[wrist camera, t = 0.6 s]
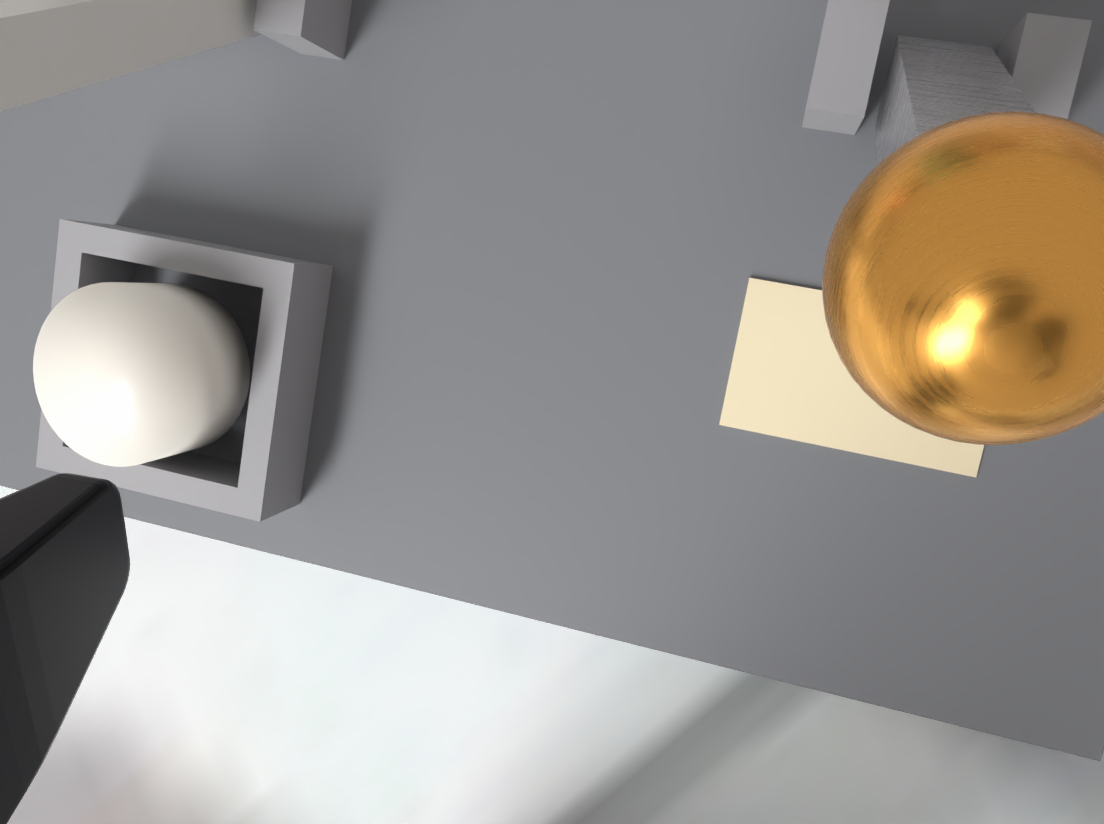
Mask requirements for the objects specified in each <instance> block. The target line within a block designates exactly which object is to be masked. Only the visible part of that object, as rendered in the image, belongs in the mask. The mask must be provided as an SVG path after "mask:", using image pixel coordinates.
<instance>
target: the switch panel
mask: <svg viewBox="0 0 1104 824" xmlns="http://www.w3.org/2000/svg"><path fill="white" fill-rule="evenodd" d="M253 30H255V31H257V32H259V33H261V34H260V35H257V36H253V37H250V38H247V39H243V40H240V41H237V42H233V43H230V44H226V45H223V46H220V47H216V48H213V49H210V50H206V51H203V52H199V53H196V54H193V55H189V56H186V57H183V58H179V59H176V60H173V61H169V62H166V63H162V64H159V65H156V66H152V67H149V68H146V69H142V70H139V71H135V72H132V73H129V74H125V75H122V76H119V77H115V78H112V79H109V80H105V81H102V82H98V83H95V84H92V85H88V86H85V87H82V88H78V89H75V90H72V91H68V92H65V93H61V94H58V95H55V96H51V97H48V98H45V99H41V100H38V101H34V102H31V103H28V104H24V105H21V106H18V107H14V108H11V109H8V110H4V111H1V112H0V485H1V486H5V487H8V488H12V489H16V490H21V489H23V488H26V487H28V486H30V485H32V484H35V483H37V482H39V481H42V480H44V479H46V478H48V477H51V476H54V475H56V474H60V473H72V474H78V475H84V476H90V477H96V478H101V479H106V480H109V481H111V482H112V483H114V484H115V485H116V487H117V488H118V490H119V492H120V496H121V501H122V508H123V515H124V517H128V518H132V519H136V520H140V521H144V522H148V523H152V524H156V525H160V526H164V527H168V528H172V529H176V530H180V531H184V532H188V533H192V534H196V535H200V536H204V537H208V538H212V539H216V540H220V541H224V542H228V543H232V544H236V545H240V546H244V547H248V548H252V549H256V550H260V551H264V552H268V553H272V554H276V555H280V556H284V557H288V558H292V559H296V560H300V561H304V562H308V563H312V564H316V565H320V566H324V567H328V568H332V569H336V570H340V571H344V572H348V573H352V574H356V575H360V576H364V577H368V578H372V579H376V580H380V581H384V582H388V583H392V584H396V585H400V586H404V587H408V588H412V589H416V590H419V591H423V592H427V593H431V594H435V595H439V596H443V597H447V598H451V599H455V600H459V601H463V602H467V603H471V604H475V605H479V606H483V607H487V608H491V609H495V610H499V611H503V612H507V613H511V614H515V615H519V616H523V617H527V618H531V619H535V620H539V621H543V622H547V623H551V624H555V625H559V626H563V627H567V628H571V629H575V630H579V631H583V632H587V633H591V634H595V635H599V636H603V637H607V638H611V639H615V640H619V641H623V642H627V643H631V644H635V645H639V646H643V647H647V648H651V649H655V650H659V651H663V652H667V653H671V654H675V655H679V656H683V657H687V658H691V659H695V660H699V661H703V662H707V663H711V664H715V665H719V666H723V667H727V668H731V669H735V670H739V671H743V672H747V673H751V674H755V675H759V676H763V677H767V678H771V679H775V680H779V681H783V682H787V683H791V684H795V685H799V686H803V687H807V688H811V689H815V690H819V691H823V692H827V693H831V694H834V695H838V696H842V697H846V698H850V699H854V700H858V701H862V702H866V703H870V704H874V705H878V706H882V707H886V708H890V709H894V710H898V711H902V712H906V713H910V714H914V715H918V716H922V717H926V718H930V719H934V720H938V721H942V722H946V723H950V724H954V725H958V726H962V727H966V728H970V729H974V730H978V731H982V732H986V733H990V734H994V735H998V736H1002V737H1006V738H1010V739H1014V740H1018V741H1022V742H1026V743H1030V744H1034V745H1038V746H1042V747H1046V748H1050V749H1054V750H1058V751H1062V752H1066V753H1070V754H1074V755H1078V756H1082V757H1086V758H1090V759H1094V760H1098V761H1100V760H1101V757H1102V753H1103V750H1104V412H1103V413H1101V414H1100V415H1098V416H1097V417H1095V418H1093V419H1091V420H1090V421H1088V422H1086V423H1084V424H1082V425H1080V426H1078V427H1076V428H1073V429H1071V430H1068V431H1066V432H1063V433H1061V434H1058V435H1055V436H1051V437H1048V438H1044V439H1041V440H1037V441H1031V442H1025V443H1019V444H1008V445H976V444H969V443H962V442H956V441H952V440H948V439H944V438H941V437H937V436H934V435H932V434H929V433H926V432H924V431H921V430H918V429H916V428H914V427H912V426H910V425H908V424H906V423H904V422H902V421H900V420H898V419H897V418H895V417H894V416H893V415H891V414H890V413H888V412H887V411H885V410H884V409H882V408H881V407H880V406H879V405H878V404H877V403H876V402H875V401H874V400H872V399H871V398H870V397H869V396H868V395H867V394H866V393H865V392H864V391H863V390H862V389H861V388H860V387H859V385H858V384H857V383H856V382H855V381H854V379H853V378H852V377H851V376H850V374H849V372H848V371H847V369H846V368H845V366H844V364H843V363H842V361H841V359H840V357H839V355H838V353H837V351H836V349H835V346H834V344H833V342H832V340H831V337H830V334H829V330H828V327H827V323H826V320H825V313H824V305H823V296H822V275H823V267H824V261H825V255H826V251H827V248H828V245H829V241H830V238H831V235H832V232H833V228H834V226H835V224H836V222H837V220H838V218H839V215H840V213H841V211H842V209H843V208H844V206H845V204H846V203H847V201H848V200H849V198H850V197H851V195H852V193H853V192H854V191H855V189H856V188H857V187H858V186H859V185H860V183H861V182H862V181H863V180H864V179H865V177H866V176H867V175H868V174H869V173H870V172H871V171H872V170H873V169H874V168H875V167H876V166H877V155H876V137H875V123H876V119H877V115H878V111H879V106H880V102H881V98H882V94H883V90H884V86H885V82H886V78H887V74H888V70H889V66H890V62H891V58H892V54H893V49H894V45H895V41H896V37H897V35H901V36H908V37H916V38H924V39H932V40H940V41H948V42H956V43H964V44H971V45H979V46H987V47H991V48H992V49H993V51H994V52H995V54H996V55H997V56H998V58H999V59H1000V61H1001V62H1002V64H1003V65H1004V67H1005V68H1006V70H1007V71H1008V72H1009V74H1010V75H1011V77H1012V78H1013V80H1014V81H1015V83H1016V84H1017V86H1018V87H1019V88H1020V90H1021V91H1022V93H1023V94H1024V96H1025V97H1026V99H1027V100H1028V101H1029V103H1030V104H1031V106H1032V107H1033V109H1034V110H1035V112H1036V113H1041V114H1046V115H1051V116H1056V117H1061V118H1065V119H1068V120H1071V121H1074V122H1077V123H1080V124H1083V125H1085V126H1088V127H1090V128H1092V129H1094V130H1096V131H1098V132H1099V133H1101V134H1103V135H1104V0H257V4H256V12H255V20H254V29H253ZM102 282H127V283H175V284H183V285H187V286H190V287H194V288H196V289H198V290H201V291H203V292H204V293H206V294H208V295H209V296H211V297H213V298H214V299H215V300H216V301H218V302H219V303H220V304H221V305H222V306H223V307H224V308H225V309H226V310H227V311H228V312H229V314H230V315H231V316H232V318H233V319H234V320H235V322H236V324H237V326H238V327H239V329H240V331H241V333H242V336H243V338H244V340H245V344H246V347H247V350H248V356H249V361H250V384H249V390H248V395H247V398H246V401H245V404H244V407H243V409H242V411H241V413H240V415H239V417H238V418H237V420H236V421H235V423H234V424H233V425H232V426H231V427H230V429H229V430H228V431H227V432H226V433H225V434H223V435H222V436H221V437H220V438H219V439H217V440H215V441H214V442H212V443H211V444H208V445H206V446H204V447H201V448H198V449H194V450H191V451H187V452H183V453H180V454H176V455H172V456H169V457H165V458H161V459H157V460H154V461H150V462H146V463H143V464H139V465H135V466H128V467H114V466H108V465H103V464H100V463H96V462H93V461H91V460H89V459H87V458H85V457H83V456H81V455H80V454H78V453H77V452H75V451H74V450H72V449H71V448H70V447H69V446H68V445H66V444H65V443H64V442H63V441H62V440H61V439H60V437H59V436H58V435H57V434H56V433H55V431H54V430H53V429H52V427H51V426H50V424H49V423H48V421H47V419H46V417H45V416H44V413H43V411H42V409H41V407H40V404H39V401H38V398H37V395H36V390H35V385H34V377H33V357H34V350H35V345H36V341H37V338H38V335H39V332H40V330H41V327H42V325H43V323H44V322H45V320H46V318H47V316H48V315H49V313H50V312H51V311H52V310H53V308H54V307H55V306H56V305H57V304H58V303H59V302H60V301H61V300H62V299H63V298H65V297H66V296H68V295H69V294H70V293H72V292H74V291H76V290H78V289H79V288H82V287H85V286H88V285H91V284H96V283H102Z"/></svg>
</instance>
